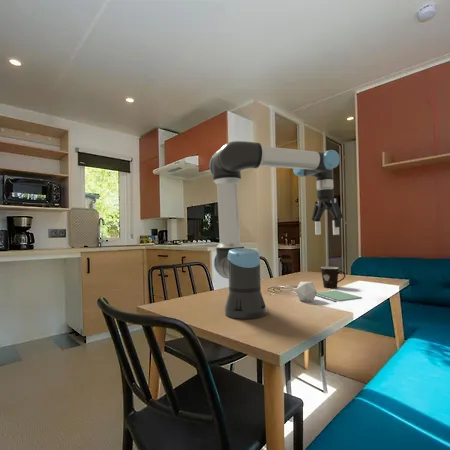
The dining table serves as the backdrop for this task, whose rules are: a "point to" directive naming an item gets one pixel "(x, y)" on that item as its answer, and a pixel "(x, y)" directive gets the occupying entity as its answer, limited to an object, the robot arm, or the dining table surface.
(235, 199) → the robot arm
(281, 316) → the dining table surface
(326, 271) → the coffee mug
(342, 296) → the mat
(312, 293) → the die
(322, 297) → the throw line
